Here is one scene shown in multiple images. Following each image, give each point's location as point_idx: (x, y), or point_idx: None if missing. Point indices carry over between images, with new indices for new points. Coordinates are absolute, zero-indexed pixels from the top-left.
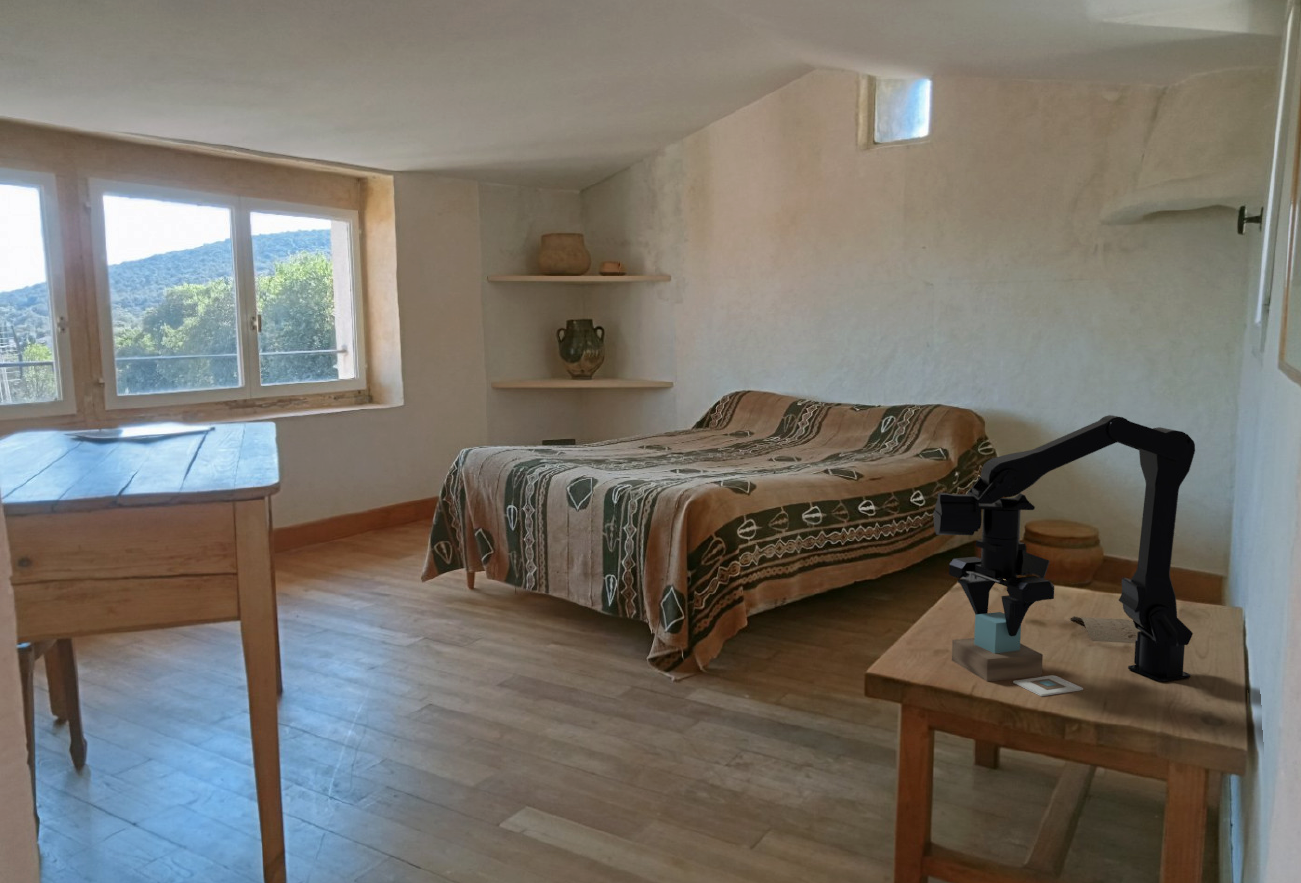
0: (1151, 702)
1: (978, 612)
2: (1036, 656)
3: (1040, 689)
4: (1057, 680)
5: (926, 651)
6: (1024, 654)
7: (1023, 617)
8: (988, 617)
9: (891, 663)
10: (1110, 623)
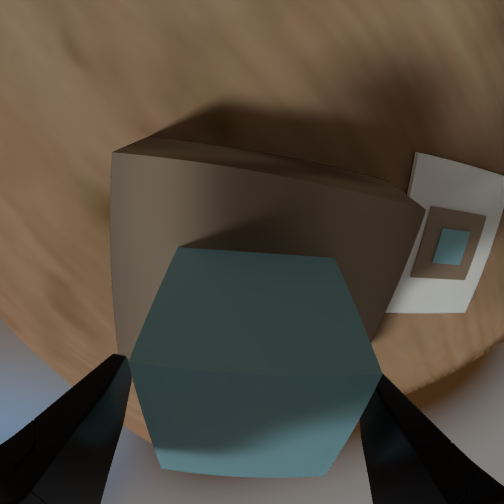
0: None
1: (118, 438)
2: (412, 238)
3: (452, 291)
4: (450, 189)
5: (64, 332)
6: (382, 282)
7: (449, 443)
8: (226, 462)
9: (136, 426)
10: None
